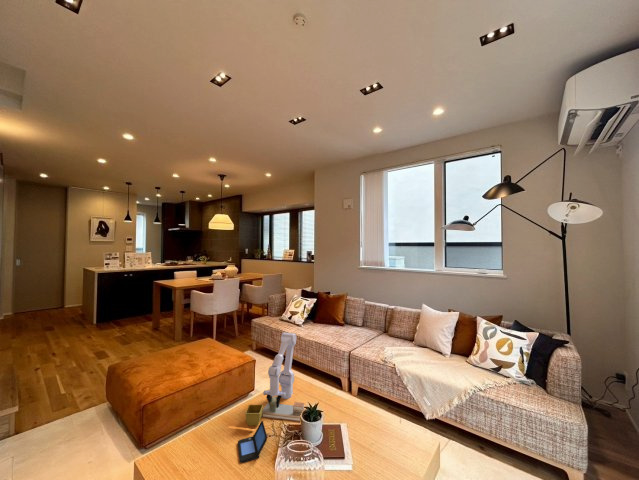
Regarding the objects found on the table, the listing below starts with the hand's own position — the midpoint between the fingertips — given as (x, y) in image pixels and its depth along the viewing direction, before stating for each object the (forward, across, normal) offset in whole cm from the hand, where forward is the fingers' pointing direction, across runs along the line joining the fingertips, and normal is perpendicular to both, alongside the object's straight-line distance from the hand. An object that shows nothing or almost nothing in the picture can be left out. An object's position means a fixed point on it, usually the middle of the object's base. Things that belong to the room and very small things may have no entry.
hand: (274, 406), depth 171 cm
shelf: (+2, +8, -2) cm, 8 cm away
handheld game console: (+3, 0, -34) cm, 34 cm away
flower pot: (+3, -7, -15) cm, 17 cm away
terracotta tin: (+1, +17, -2) cm, 17 cm away
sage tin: (+1, 0, 0) cm, 1 cm away
